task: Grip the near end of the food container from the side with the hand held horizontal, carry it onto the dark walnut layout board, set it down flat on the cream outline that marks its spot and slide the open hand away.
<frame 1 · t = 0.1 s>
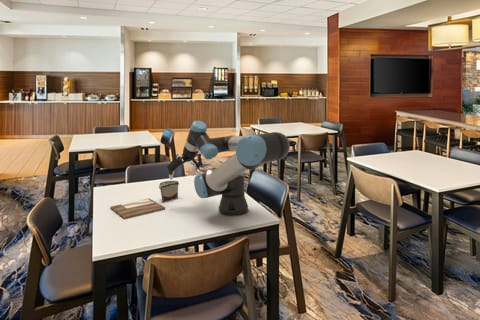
hand: (181, 176, 196), 15 cm above the table, tool tilted 35°, fingers open, 13 cm apart
layout board: (137, 209, 190), on the table
food container: (167, 199, 206), on the table
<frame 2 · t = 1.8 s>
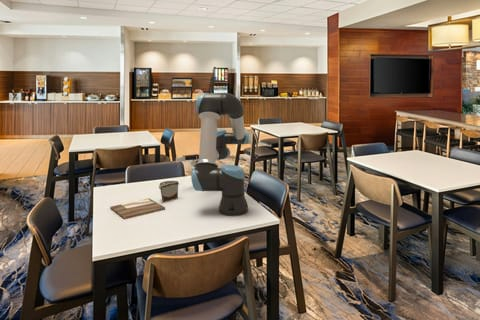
hand: (183, 161, 211), 20 cm above the table, tool horizontal, fingers open, 13 cm apart
nothing on the table moved.
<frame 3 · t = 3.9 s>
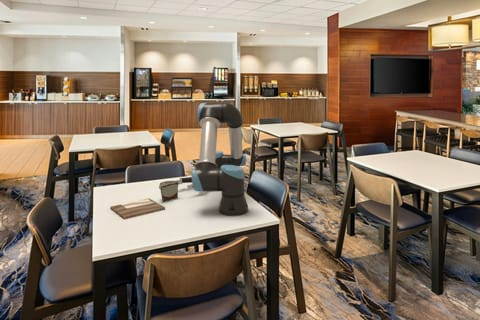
hand: (180, 185, 212), 6 cm above the table, tool horizontal, fingers open, 13 cm apart
nothing on the table moved.
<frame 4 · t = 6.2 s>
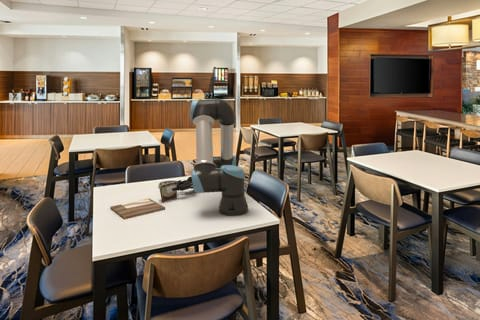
hand: (164, 189, 203), 6 cm above the table, tool horizontal, fingers closed on food container, 5 cm apart
food container: (166, 199, 206), on the table, touching gripper
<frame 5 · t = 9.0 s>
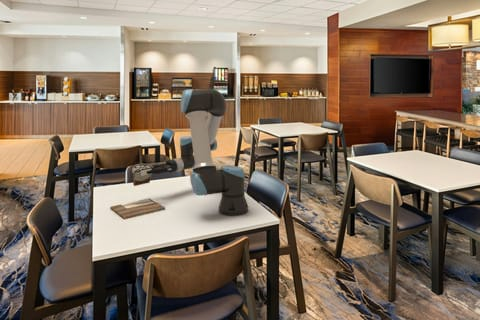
hand: (138, 172, 194), 18 cm above the table, tool horizontal, fingers closed on food container, 4 cm apart
food container: (139, 182, 199), point 12 cm above the table, touching gripper
when the fingers open (9 cm above the table, at t = 10.8 s): food container drops 1 cm, resting on layout board.
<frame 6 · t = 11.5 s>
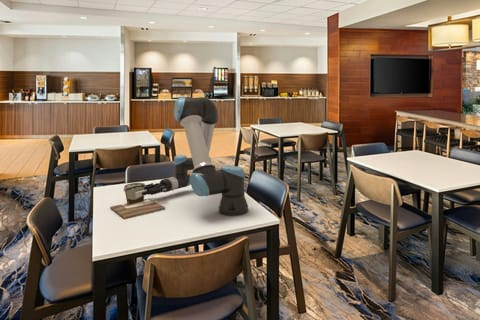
hand: (133, 193, 192), 7 cm above the table, tool horizontal, fingers open, 5 cm apart
food container: (133, 202, 197), point 1 cm above the table, touching layout board
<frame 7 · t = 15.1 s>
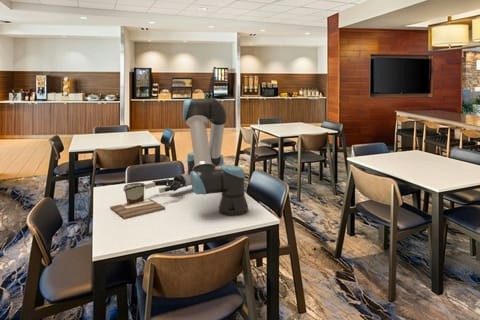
hand: (152, 188, 201), 7 cm above the table, tool horizontal, fingers open, 13 cm apart
nothing on the table moved.
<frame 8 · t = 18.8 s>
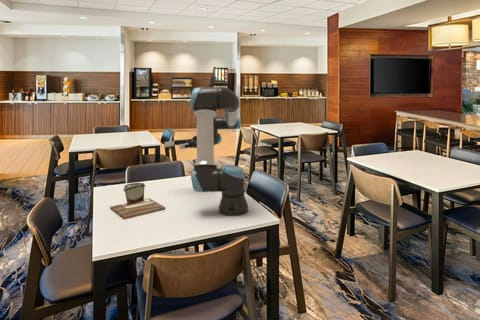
hand: (172, 145, 205), 30 cm above the table, tool horizontal, fingers open, 13 cm apart
nothing on the table moved.
at the end: food container inside the target area on the layout board (3.7 cm from its centre), point 1.2 cm above the layout board's base; food container tilted 0°; the gripper is holding nothing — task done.
